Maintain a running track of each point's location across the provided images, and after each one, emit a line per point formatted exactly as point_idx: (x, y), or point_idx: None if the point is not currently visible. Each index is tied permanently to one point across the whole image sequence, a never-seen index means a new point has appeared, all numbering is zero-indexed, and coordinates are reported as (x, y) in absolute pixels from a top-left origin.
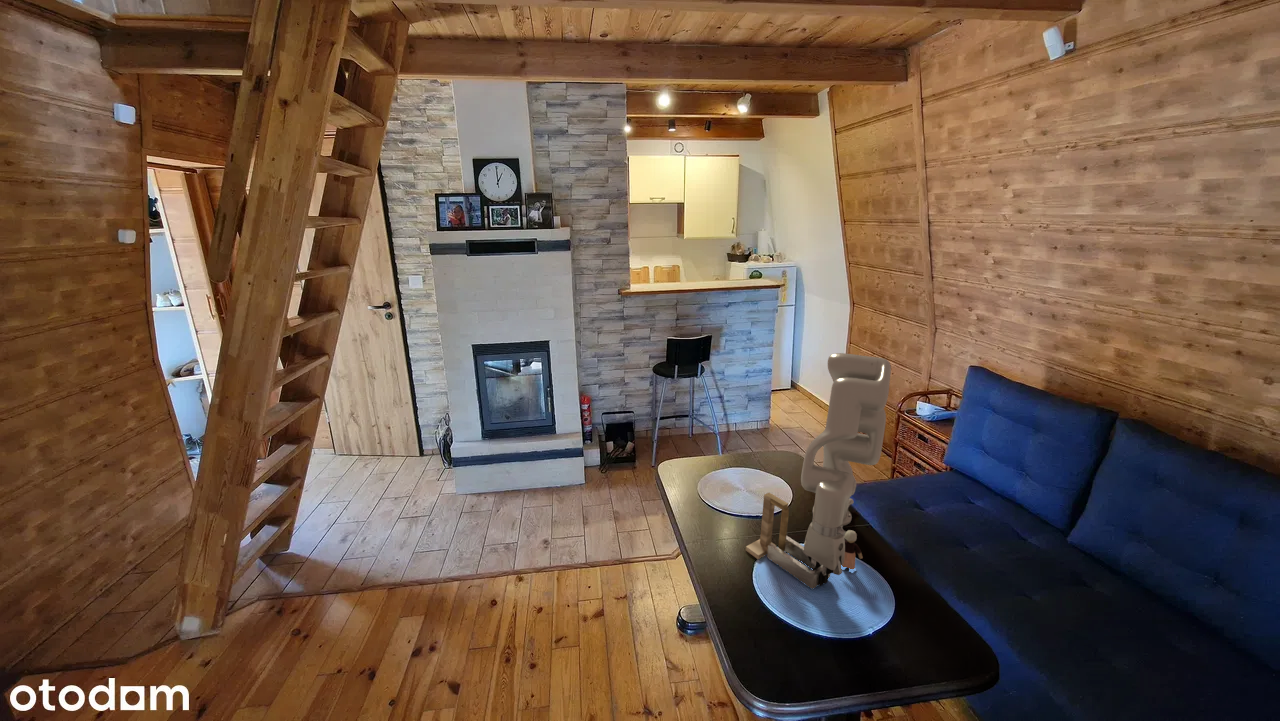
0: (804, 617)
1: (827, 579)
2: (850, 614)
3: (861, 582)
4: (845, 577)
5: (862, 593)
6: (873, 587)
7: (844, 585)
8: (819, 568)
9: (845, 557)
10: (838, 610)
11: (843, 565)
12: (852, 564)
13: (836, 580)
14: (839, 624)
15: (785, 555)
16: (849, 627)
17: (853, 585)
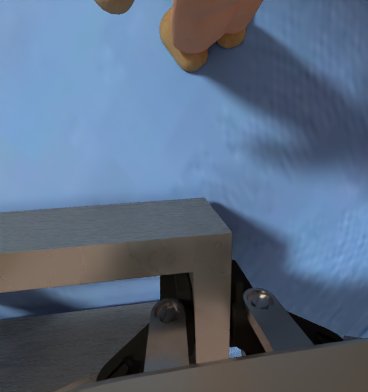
0: None
1: (238, 269)
2: (346, 270)
3: (306, 69)
4: (237, 109)
5: (337, 138)
6: (360, 49)
7: (263, 164)
8: (205, 332)
9: (222, 2)
10: (311, 289)
11: (199, 48)
12: (259, 2)
13: (222, 168)
14: (337, 326)
15: None
16: (363, 310)
17: (289, 127)
